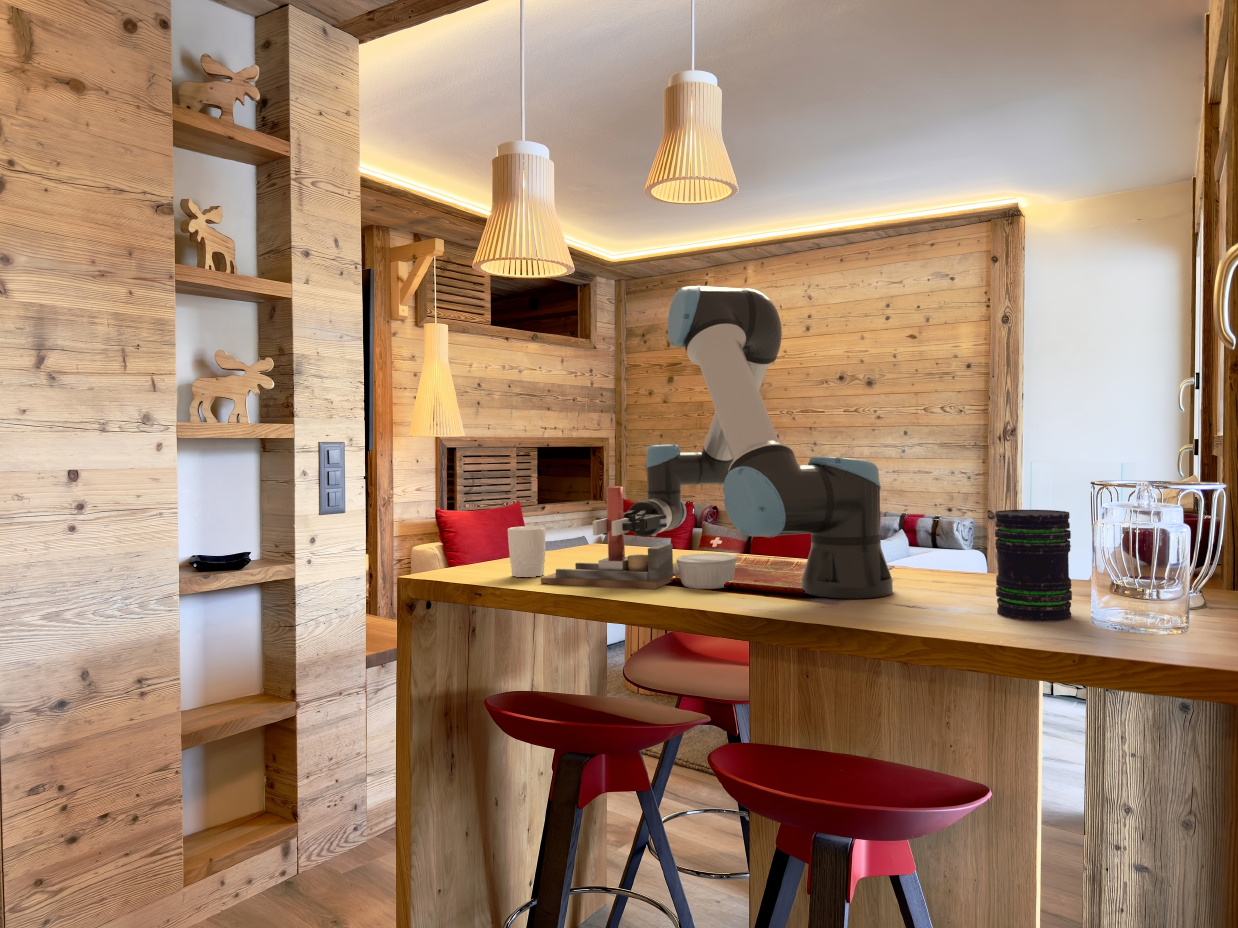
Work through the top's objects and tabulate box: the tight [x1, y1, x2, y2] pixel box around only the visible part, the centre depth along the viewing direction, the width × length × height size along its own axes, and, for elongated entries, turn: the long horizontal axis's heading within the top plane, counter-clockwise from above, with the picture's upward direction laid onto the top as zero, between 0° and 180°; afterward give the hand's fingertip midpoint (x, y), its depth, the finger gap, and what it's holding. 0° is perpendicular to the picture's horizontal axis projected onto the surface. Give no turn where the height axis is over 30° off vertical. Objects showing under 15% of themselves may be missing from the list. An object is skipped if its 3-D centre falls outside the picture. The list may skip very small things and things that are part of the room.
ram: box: [598, 486, 628, 571], centre depth 156 cm, size 5×6×17 cm
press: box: [540, 543, 677, 590], centre depth 157 cm, size 24×11×7 cm, turn 67°
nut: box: [627, 554, 648, 572], centre depth 155 cm, size 4×4×4 cm
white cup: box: [507, 525, 547, 578], centre depth 168 cm, size 8×8×10 cm
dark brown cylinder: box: [994, 509, 1073, 623], centre depth 117 cm, size 10×10×15 cm
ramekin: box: [676, 552, 738, 590], centre depth 151 cm, size 11×11×5 cm
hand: (604, 528), depth 151 cm, fingers closed on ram, 3 cm apart
